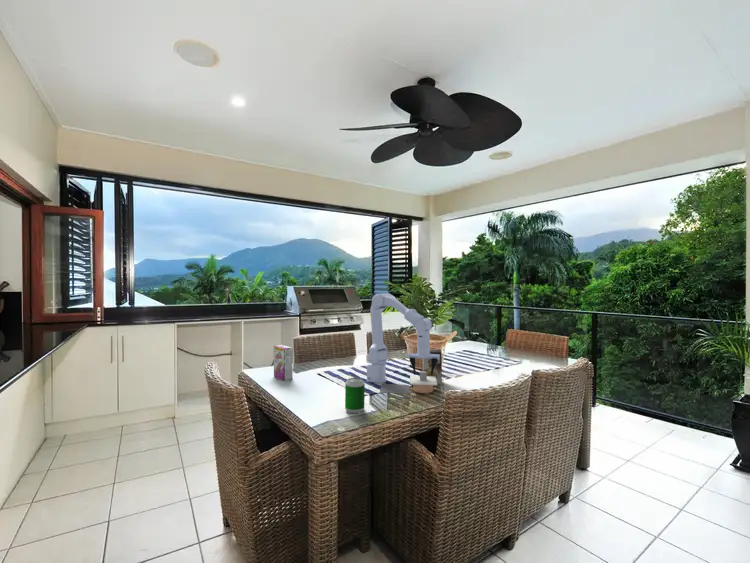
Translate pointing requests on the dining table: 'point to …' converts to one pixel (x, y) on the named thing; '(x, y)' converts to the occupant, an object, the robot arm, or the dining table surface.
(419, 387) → the bowl
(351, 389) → the soda can
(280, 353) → the candy bar box
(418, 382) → the cover
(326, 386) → the dining table surface
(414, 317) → the robot arm
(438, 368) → the coffee box
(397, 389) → the mat
